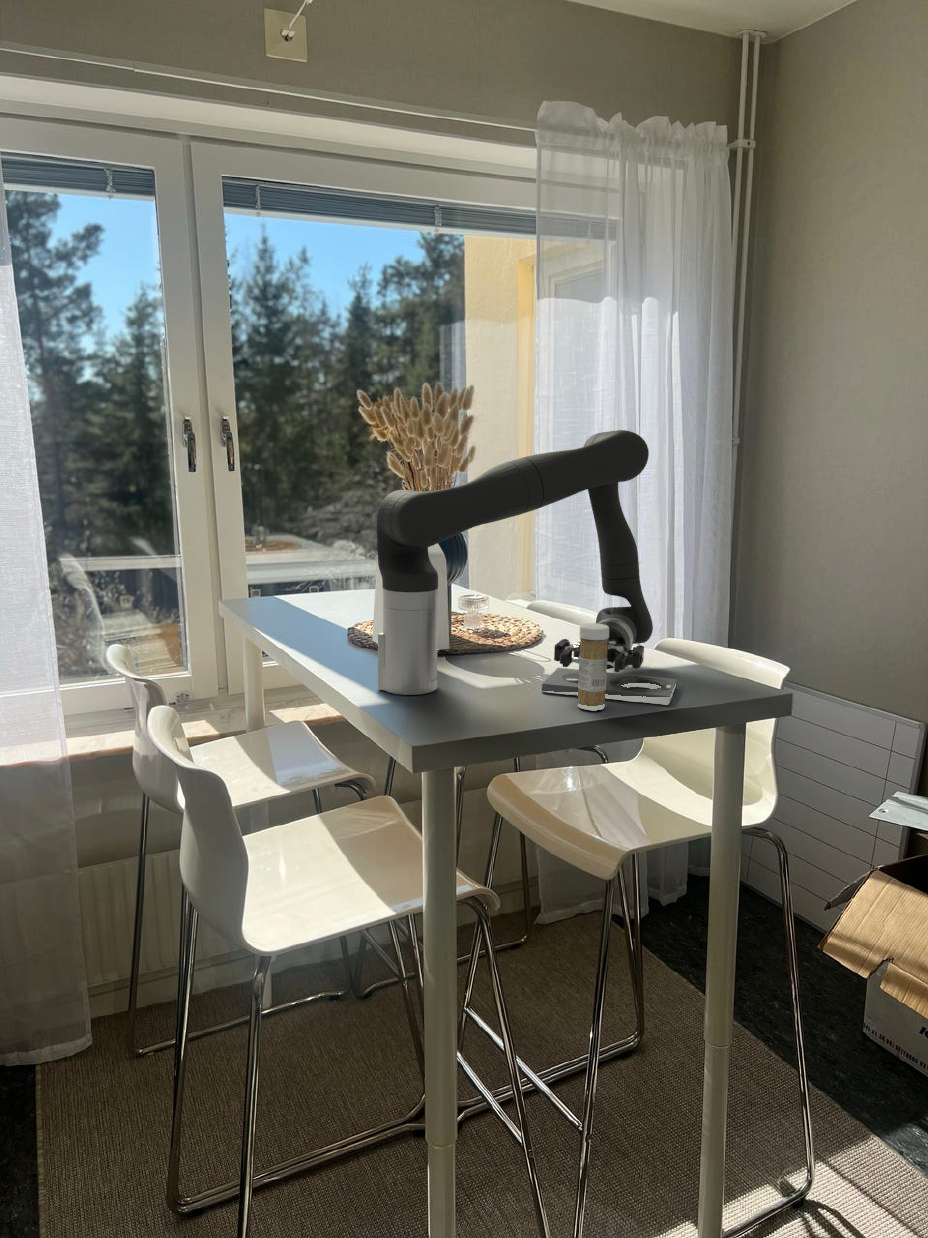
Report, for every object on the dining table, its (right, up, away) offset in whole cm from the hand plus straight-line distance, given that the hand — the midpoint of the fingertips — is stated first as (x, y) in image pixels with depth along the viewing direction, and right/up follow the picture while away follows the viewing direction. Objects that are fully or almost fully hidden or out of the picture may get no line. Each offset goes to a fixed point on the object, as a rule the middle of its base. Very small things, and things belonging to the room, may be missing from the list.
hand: (590, 663), depth 141 cm
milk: (-31, +1, +45) cm, 54 cm away
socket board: (+5, -5, +14) cm, 16 cm away
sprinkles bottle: (0, -8, +3) cm, 8 cm away
